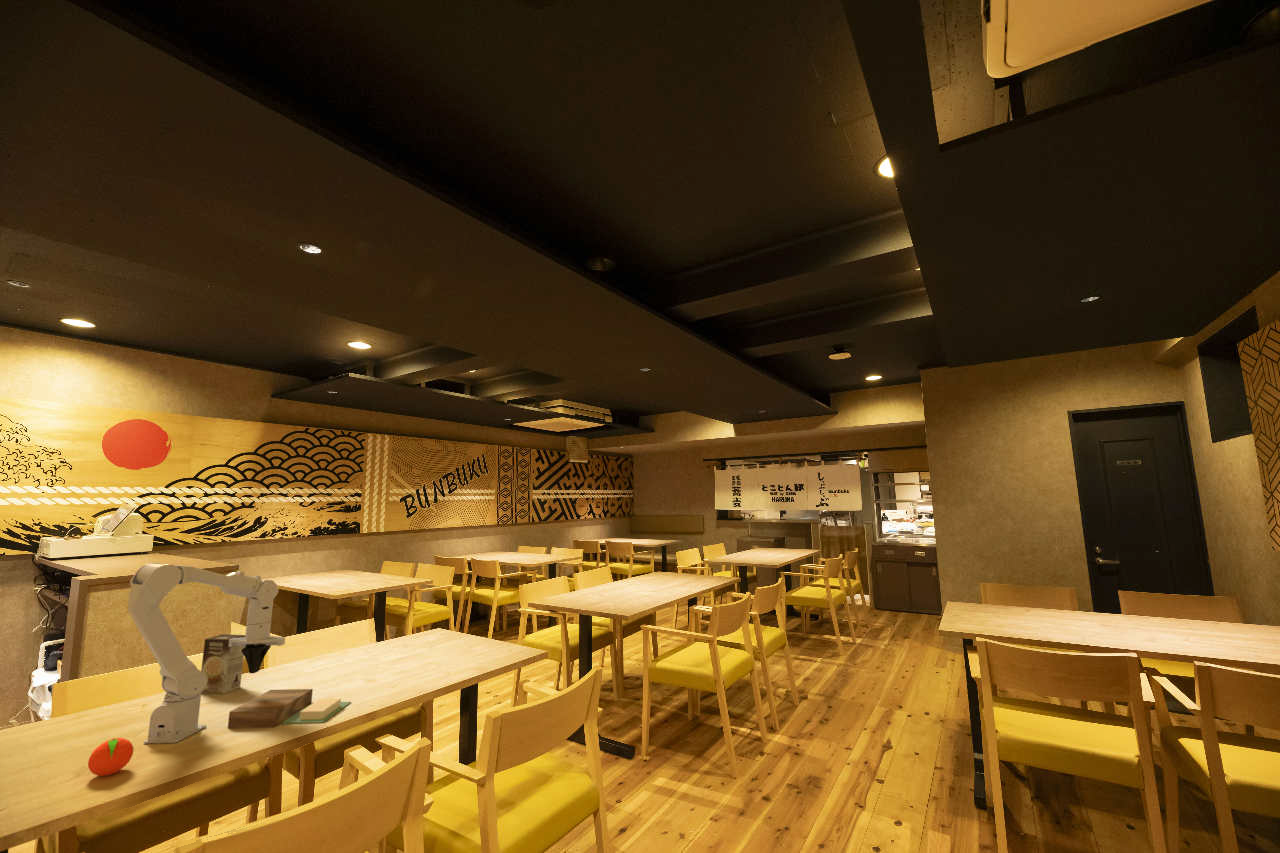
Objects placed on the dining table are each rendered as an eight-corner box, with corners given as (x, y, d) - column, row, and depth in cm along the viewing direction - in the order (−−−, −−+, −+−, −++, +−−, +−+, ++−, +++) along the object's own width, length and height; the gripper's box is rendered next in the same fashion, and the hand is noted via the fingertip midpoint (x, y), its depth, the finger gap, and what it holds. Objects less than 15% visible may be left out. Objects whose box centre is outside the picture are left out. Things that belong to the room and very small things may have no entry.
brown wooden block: (274, 727, 134) (276, 710, 135) (227, 728, 134) (229, 711, 135) (311, 703, 150) (312, 688, 151) (269, 704, 150) (270, 689, 150)
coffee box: (196, 693, 159) (203, 638, 162) (215, 686, 166) (221, 633, 168) (224, 694, 158) (229, 639, 161) (241, 686, 165) (247, 634, 167)
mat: (323, 722, 137) (323, 721, 137) (280, 723, 136) (281, 722, 136) (350, 702, 151) (350, 701, 151) (312, 703, 150) (312, 702, 150)
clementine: (131, 775, 111) (135, 740, 112) (84, 788, 106) (89, 750, 107) (131, 762, 116) (135, 728, 117) (86, 774, 111) (91, 738, 113)
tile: (299, 711, 139) (299, 719, 138) (322, 711, 139) (321, 719, 138) (319, 699, 147) (318, 706, 147) (340, 698, 148) (340, 706, 147)
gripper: (293, 618, 153) (289, 667, 151) (243, 619, 152) (238, 668, 150) (277, 624, 146) (272, 675, 144) (225, 625, 145) (219, 676, 143)
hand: (254, 672), depth 146 cm, fingers closed
